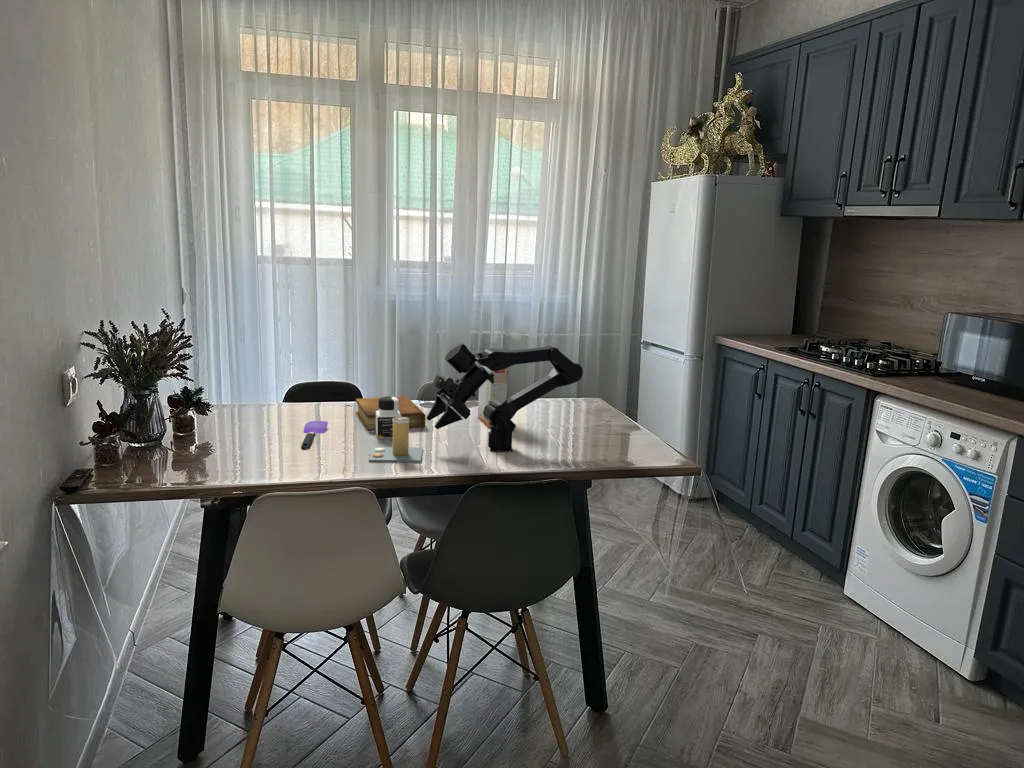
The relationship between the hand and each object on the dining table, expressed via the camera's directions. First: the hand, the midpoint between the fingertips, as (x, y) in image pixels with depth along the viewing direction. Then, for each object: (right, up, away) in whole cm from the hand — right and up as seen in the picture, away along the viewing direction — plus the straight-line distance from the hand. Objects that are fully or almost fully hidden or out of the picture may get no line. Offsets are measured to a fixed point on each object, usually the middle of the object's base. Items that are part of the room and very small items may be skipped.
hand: (431, 423), depth 198 cm
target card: (-10, -9, -1) cm, 13 cm away
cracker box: (+16, -2, +38) cm, 41 cm away
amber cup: (-9, -8, -1) cm, 12 cm away
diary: (-18, -1, +35) cm, 40 cm away
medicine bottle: (-15, -5, +18) cm, 24 cm away
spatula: (-38, -5, +12) cm, 40 cm away
